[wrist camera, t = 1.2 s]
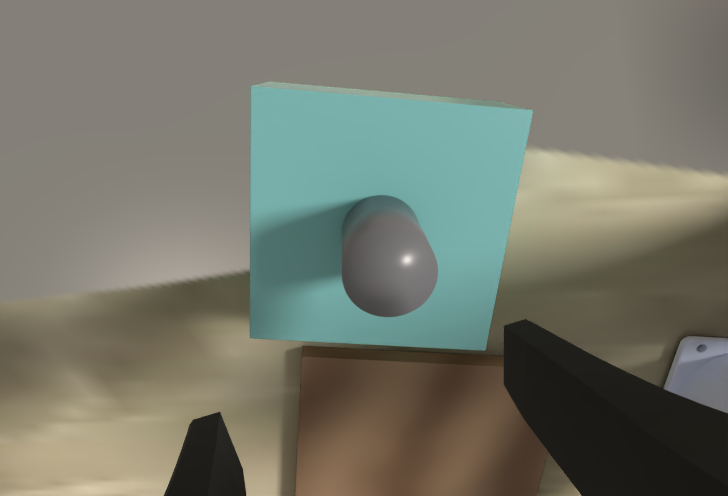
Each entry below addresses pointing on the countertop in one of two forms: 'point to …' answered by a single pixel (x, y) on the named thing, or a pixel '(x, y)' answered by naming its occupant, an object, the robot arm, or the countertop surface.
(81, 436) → the countertop surface
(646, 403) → the robot arm
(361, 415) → the walnut board
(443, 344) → the cover
